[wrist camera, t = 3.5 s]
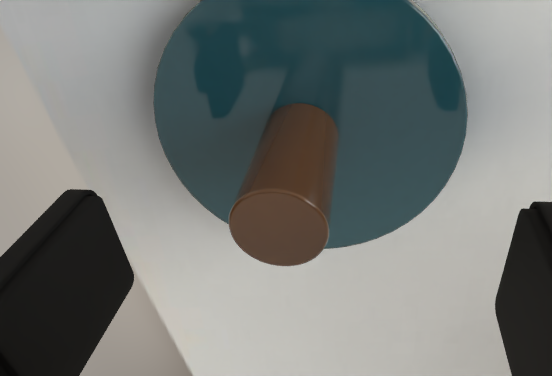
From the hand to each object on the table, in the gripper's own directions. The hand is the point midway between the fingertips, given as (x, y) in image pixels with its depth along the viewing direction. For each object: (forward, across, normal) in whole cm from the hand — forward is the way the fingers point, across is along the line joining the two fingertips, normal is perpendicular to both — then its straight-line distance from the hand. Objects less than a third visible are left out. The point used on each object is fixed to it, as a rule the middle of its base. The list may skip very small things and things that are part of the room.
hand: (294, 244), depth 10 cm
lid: (+5, 0, 0) cm, 5 cm away
